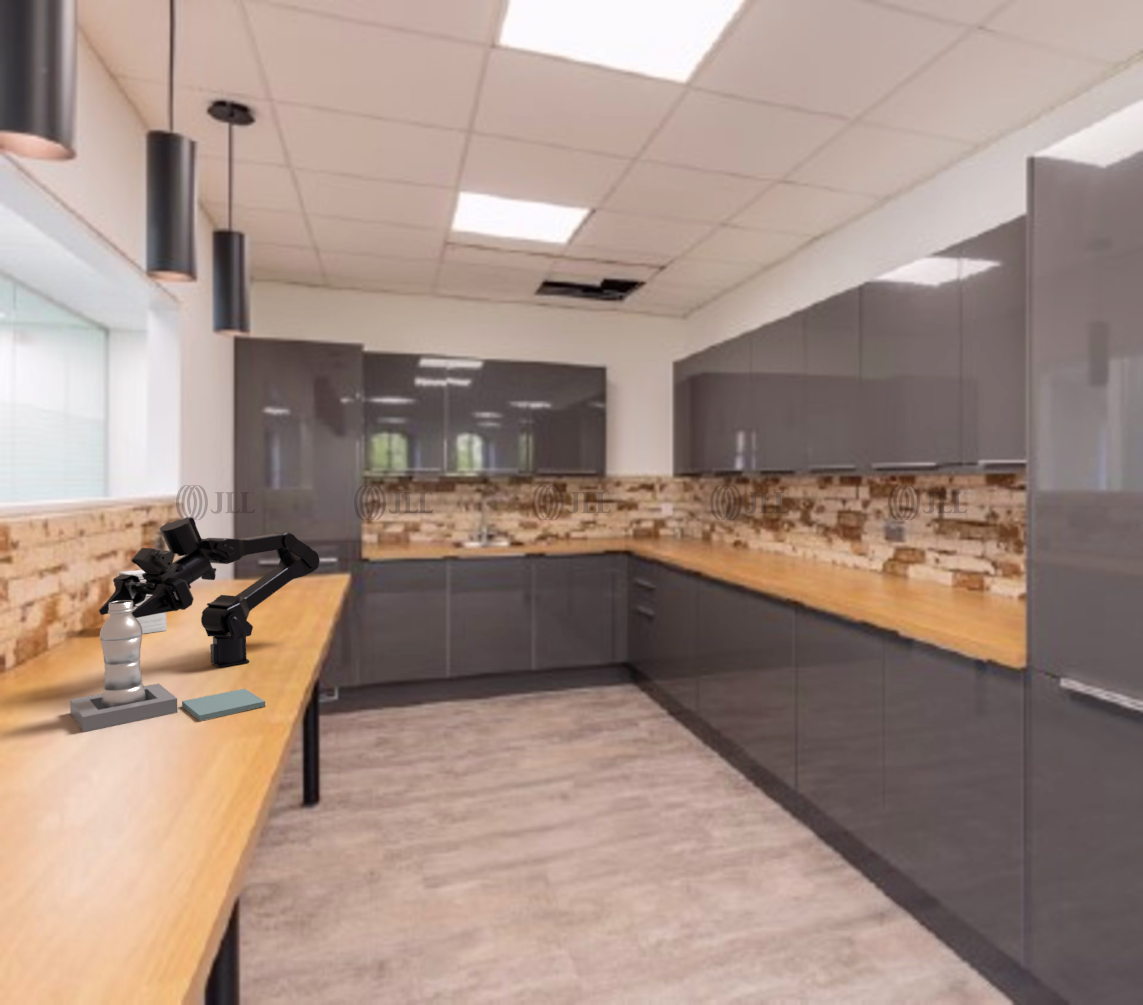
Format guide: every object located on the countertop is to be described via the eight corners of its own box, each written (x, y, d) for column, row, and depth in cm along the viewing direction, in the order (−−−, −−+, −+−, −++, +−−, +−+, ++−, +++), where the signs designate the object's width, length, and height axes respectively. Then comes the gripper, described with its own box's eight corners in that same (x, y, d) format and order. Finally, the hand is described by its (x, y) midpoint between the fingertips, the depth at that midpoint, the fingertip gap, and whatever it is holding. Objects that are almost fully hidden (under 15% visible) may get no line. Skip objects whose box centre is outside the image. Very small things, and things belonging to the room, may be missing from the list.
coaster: (244, 693, 135) (244, 688, 135) (265, 706, 127) (265, 701, 127) (182, 706, 128) (181, 701, 128) (199, 721, 120) (199, 715, 120)
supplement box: (167, 630, 194) (166, 570, 193) (129, 636, 187) (127, 574, 186) (156, 626, 200) (155, 568, 200) (119, 631, 193) (118, 571, 193)
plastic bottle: (154, 708, 127) (151, 599, 126) (119, 720, 120) (116, 606, 120) (128, 705, 129) (125, 598, 128) (92, 717, 122) (89, 604, 122)
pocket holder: (159, 696, 134) (158, 683, 134) (177, 712, 125) (177, 698, 125) (70, 713, 124) (70, 699, 124) (83, 731, 115) (82, 717, 115)
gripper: (137, 538, 148) (66, 576, 135) (198, 541, 140) (130, 581, 127) (158, 582, 152) (91, 623, 139) (218, 587, 145) (154, 631, 132)
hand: (115, 614), depth 134 cm, fingers open, 9 cm apart
